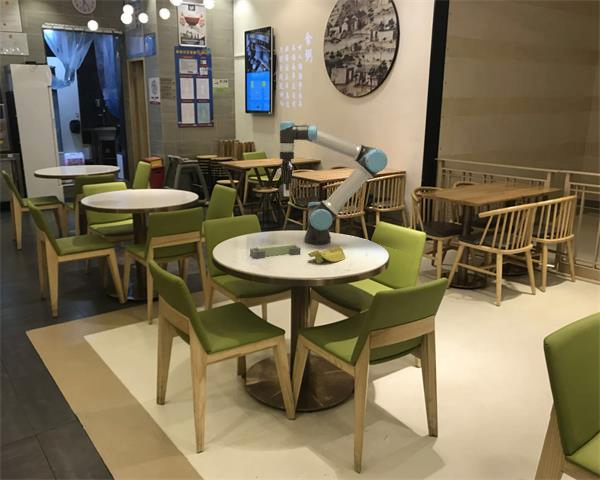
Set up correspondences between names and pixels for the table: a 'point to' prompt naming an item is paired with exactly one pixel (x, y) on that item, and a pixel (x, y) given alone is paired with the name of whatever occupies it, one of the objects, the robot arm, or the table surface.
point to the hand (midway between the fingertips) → (286, 195)
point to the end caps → (261, 254)
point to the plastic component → (329, 255)
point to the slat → (276, 249)
